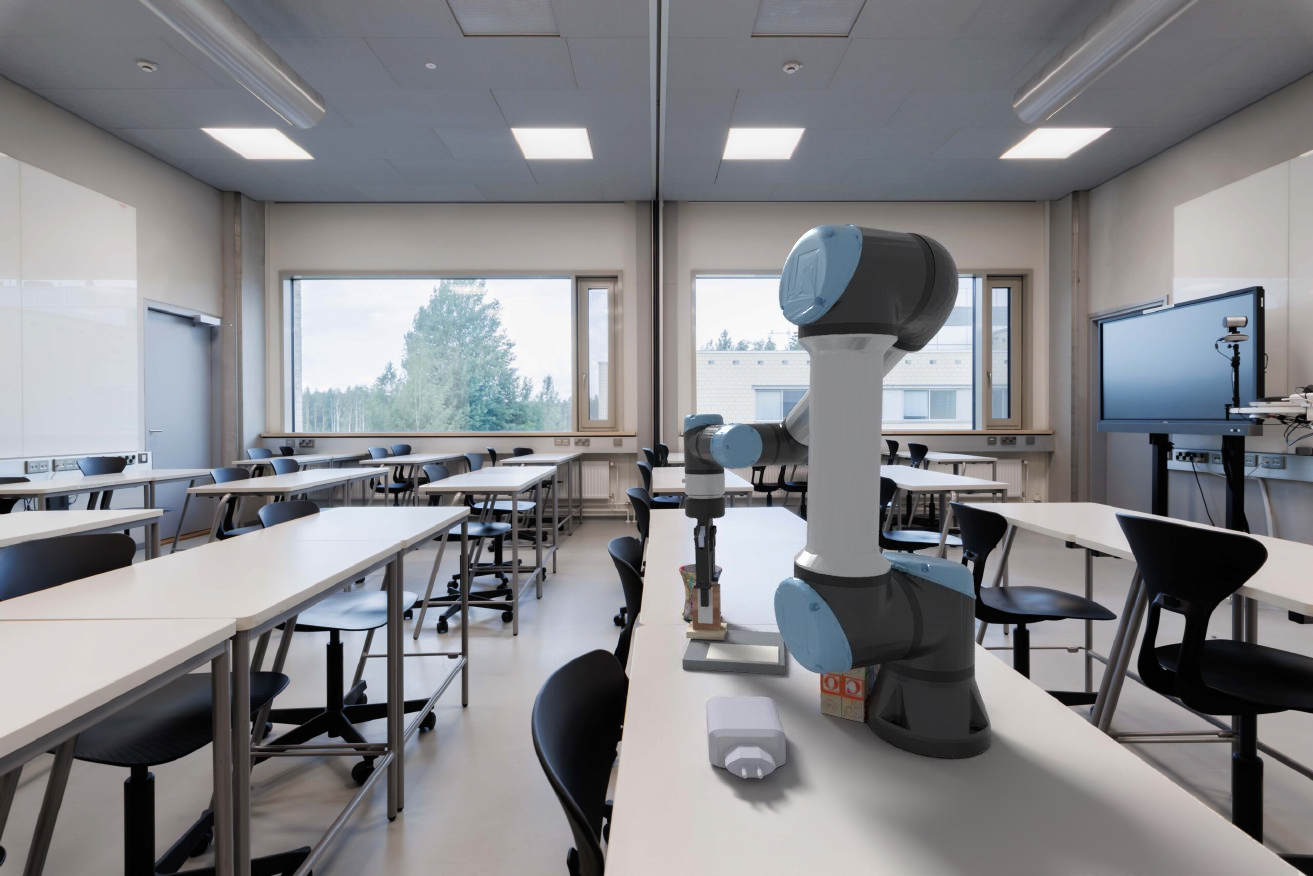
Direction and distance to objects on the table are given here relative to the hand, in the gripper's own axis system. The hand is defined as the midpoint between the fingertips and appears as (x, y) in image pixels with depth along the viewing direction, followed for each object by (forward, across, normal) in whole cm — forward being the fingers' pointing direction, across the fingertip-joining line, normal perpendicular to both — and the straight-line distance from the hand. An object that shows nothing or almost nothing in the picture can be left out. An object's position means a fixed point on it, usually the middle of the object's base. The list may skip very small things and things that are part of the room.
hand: (706, 619), depth 115 cm
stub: (+3, 0, 0) cm, 3 cm away
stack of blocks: (+5, +16, +26) cm, 31 cm away
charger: (+5, +39, +9) cm, 40 cm away
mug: (+5, -16, -3) cm, 18 cm away
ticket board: (+5, +4, +6) cm, 9 cm away
